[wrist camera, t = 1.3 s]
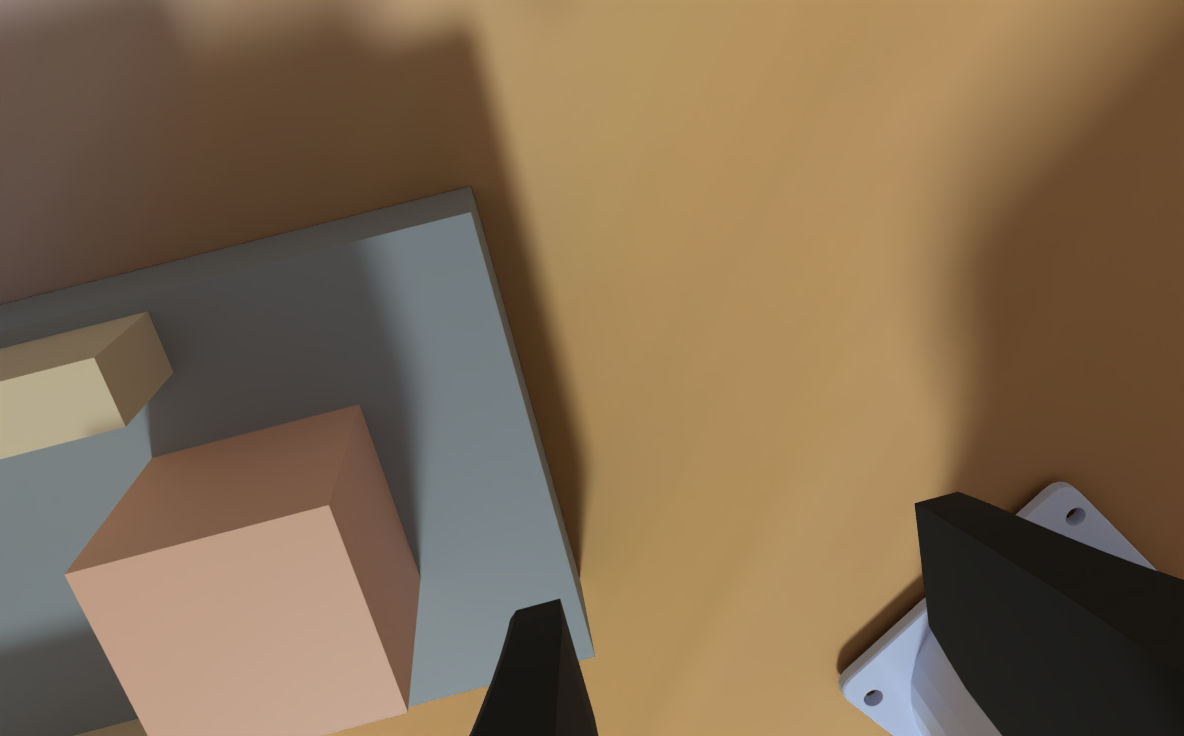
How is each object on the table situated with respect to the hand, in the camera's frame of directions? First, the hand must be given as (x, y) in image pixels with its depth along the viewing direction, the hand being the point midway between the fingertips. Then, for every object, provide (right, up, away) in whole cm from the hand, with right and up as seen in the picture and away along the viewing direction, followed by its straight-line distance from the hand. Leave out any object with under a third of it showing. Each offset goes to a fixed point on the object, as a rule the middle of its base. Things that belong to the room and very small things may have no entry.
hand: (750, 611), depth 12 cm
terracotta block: (-8, 0, +6) cm, 10 cm away
